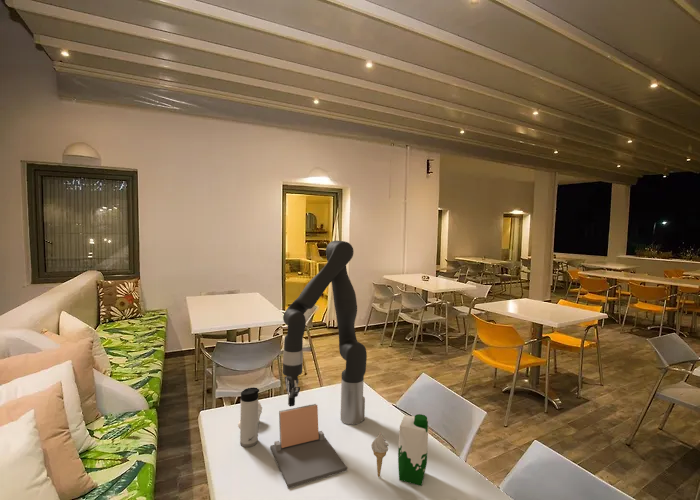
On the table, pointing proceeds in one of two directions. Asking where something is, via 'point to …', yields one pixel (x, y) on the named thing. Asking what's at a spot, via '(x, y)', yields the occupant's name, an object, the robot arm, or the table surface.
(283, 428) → the tile
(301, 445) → the base
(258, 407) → the beige irregular lump
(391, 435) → the table surface
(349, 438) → the table surface
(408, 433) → the milk carton
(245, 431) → the travel mug
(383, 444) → the ice cream cone
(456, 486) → the table surface
